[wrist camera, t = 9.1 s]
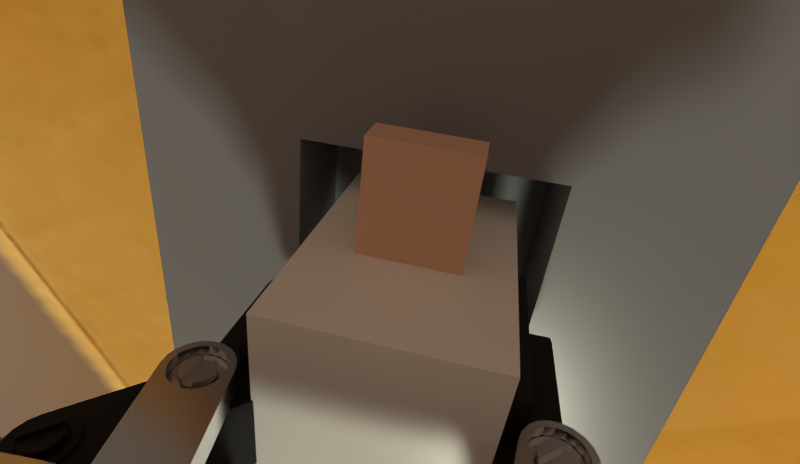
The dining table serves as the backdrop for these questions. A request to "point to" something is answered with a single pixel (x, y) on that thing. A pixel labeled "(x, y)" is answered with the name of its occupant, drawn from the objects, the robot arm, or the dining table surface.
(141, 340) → the dining table surface
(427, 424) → the block
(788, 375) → the dining table surface
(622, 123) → the block
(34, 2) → the dining table surface
